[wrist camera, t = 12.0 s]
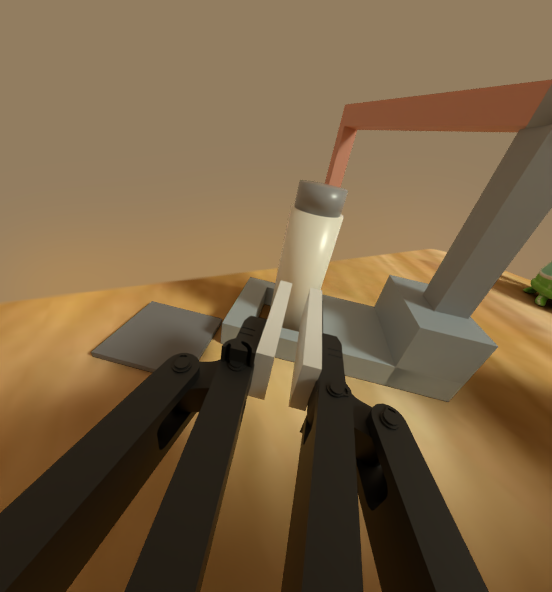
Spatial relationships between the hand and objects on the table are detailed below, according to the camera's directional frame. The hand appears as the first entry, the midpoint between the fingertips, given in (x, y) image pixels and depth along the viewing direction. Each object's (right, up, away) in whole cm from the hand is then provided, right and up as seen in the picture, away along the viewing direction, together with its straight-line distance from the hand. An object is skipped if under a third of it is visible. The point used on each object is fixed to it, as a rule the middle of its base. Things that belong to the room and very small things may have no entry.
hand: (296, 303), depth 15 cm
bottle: (0, -3, +12) cm, 12 cm away
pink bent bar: (+12, +11, +13) cm, 20 cm away
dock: (+5, -4, +11) cm, 13 cm away
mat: (-12, -3, +7) cm, 14 cm away
